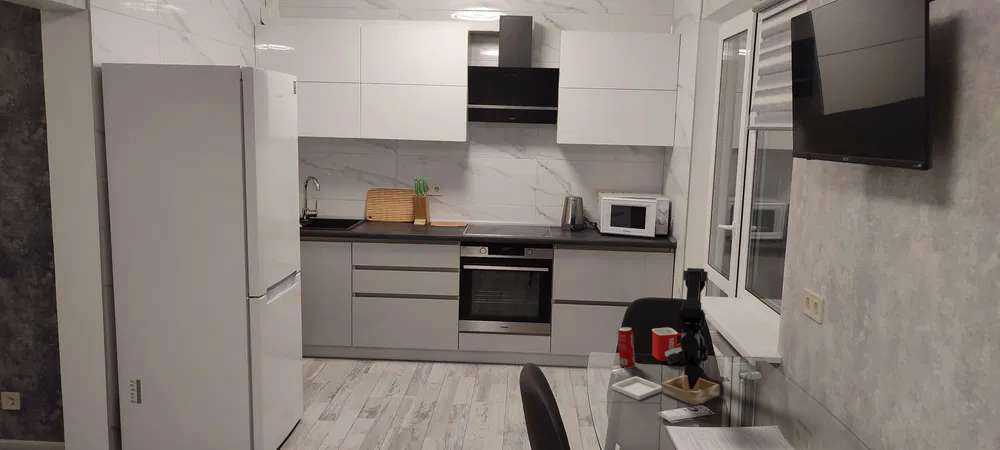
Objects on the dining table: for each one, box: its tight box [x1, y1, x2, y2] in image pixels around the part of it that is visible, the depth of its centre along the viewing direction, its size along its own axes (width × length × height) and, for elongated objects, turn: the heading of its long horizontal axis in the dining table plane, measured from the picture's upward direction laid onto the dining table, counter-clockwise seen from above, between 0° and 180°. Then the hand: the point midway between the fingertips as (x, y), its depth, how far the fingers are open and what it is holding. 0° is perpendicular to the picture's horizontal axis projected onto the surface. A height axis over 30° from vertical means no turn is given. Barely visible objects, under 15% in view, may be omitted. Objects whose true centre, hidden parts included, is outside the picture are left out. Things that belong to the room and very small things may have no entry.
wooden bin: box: [660, 375, 721, 406], centre depth 234 cm, size 14×14×4 cm
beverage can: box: [617, 326, 636, 369], centre depth 262 cm, size 6×6×15 cm
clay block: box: [681, 370, 699, 391], centre depth 234 cm, size 5×5×5 cm
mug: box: [651, 327, 682, 362], centre depth 271 cm, size 12×8×11 cm
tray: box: [610, 375, 661, 401], centre depth 239 cm, size 13×13×2 cm
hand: (690, 386), depth 234 cm, fingers closed on clay block, 5 cm apart
